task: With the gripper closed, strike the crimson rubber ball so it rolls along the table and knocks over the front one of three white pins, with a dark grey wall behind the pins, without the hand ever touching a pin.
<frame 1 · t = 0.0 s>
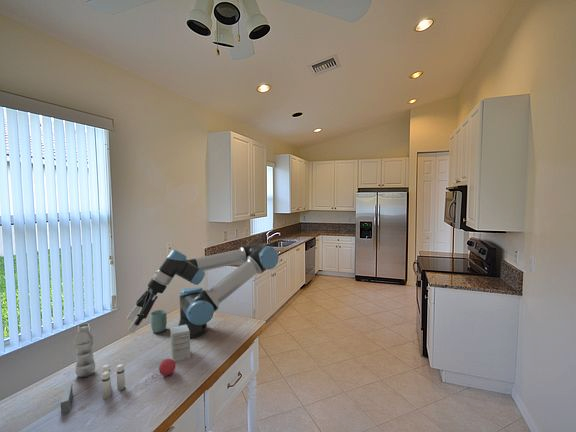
hand: (130, 325, 125), 15 cm above the table, tool tilted 35°, fingers open, 13 cm apart
ball: (167, 367, 115), on the table
right back pin: (107, 388, 107), on the table
plastic bottle: (85, 375, 115), on the table
supplement box: (180, 357, 128), on the table
left back pin: (106, 396, 102), on the table
cup: (159, 331, 153), on the table
front pin: (121, 388, 107), on the table
back wall: (67, 404, 99), on the table
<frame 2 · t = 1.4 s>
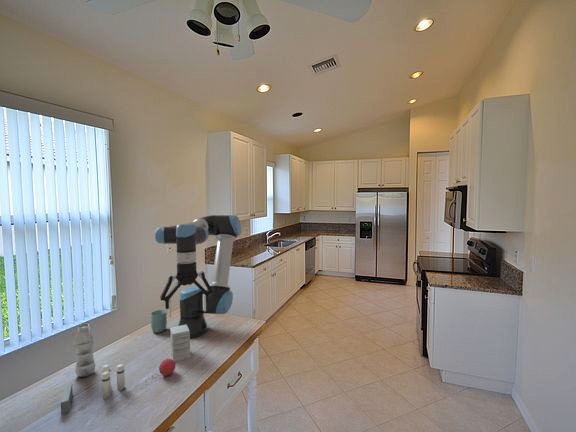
hand: (187, 313, 118), 23 cm above the table, tool pointing down, fingers open, 13 cm apart
nothing on the table moved.
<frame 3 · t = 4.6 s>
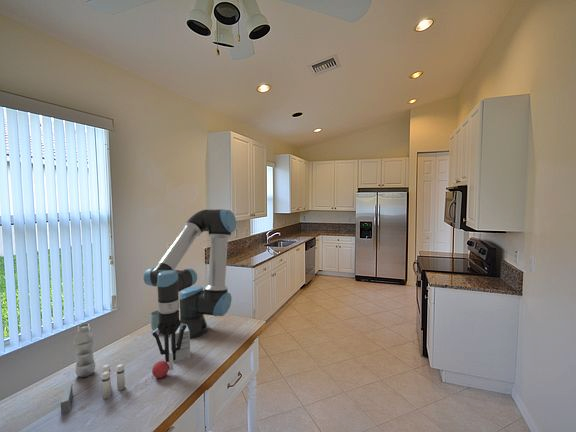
hand: (170, 368, 115), 2 cm above the table, tool pointing down, fingers closed
ball: (160, 369, 113), on the table, touching gripper
everything else where it was.
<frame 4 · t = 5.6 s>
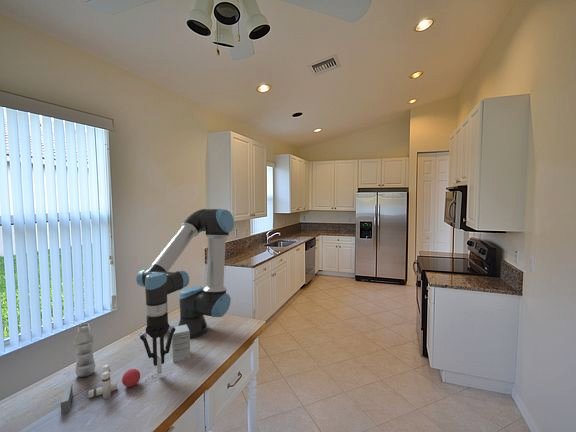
hand: (159, 372, 113), 2 cm above the table, tool pointing down, fingers closed
ball: (131, 377, 108), on the table
front pin: (116, 385, 106), point 1 cm above the table, tilted 90°
everything else where it was.
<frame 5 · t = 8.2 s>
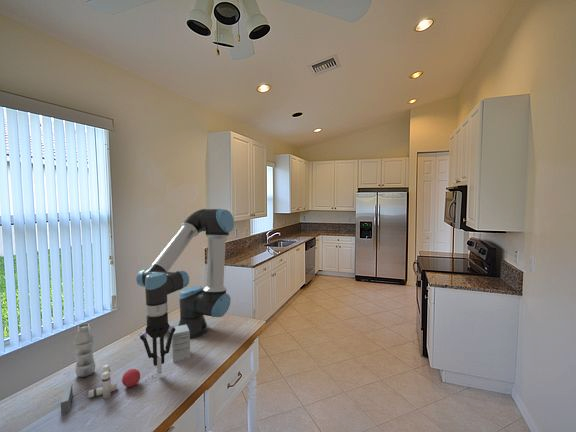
hand: (159, 372, 113), 2 cm above the table, tool pointing down, fingers closed
front pin: (116, 386, 106), point 1 cm above the table, tilted 90°
everything else where it was.
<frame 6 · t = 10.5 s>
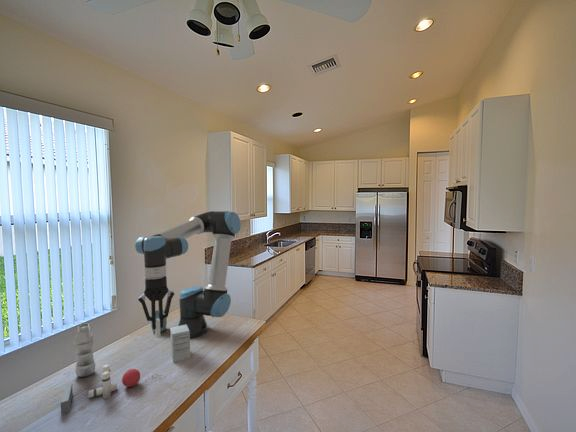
hand: (157, 336, 112), 16 cm above the table, tool pointing down, fingers closed
nothing on the table moved.
at the end: front pin tilted 90°; front pin never touched the robot; ball moved 12.6 cm from its start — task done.
